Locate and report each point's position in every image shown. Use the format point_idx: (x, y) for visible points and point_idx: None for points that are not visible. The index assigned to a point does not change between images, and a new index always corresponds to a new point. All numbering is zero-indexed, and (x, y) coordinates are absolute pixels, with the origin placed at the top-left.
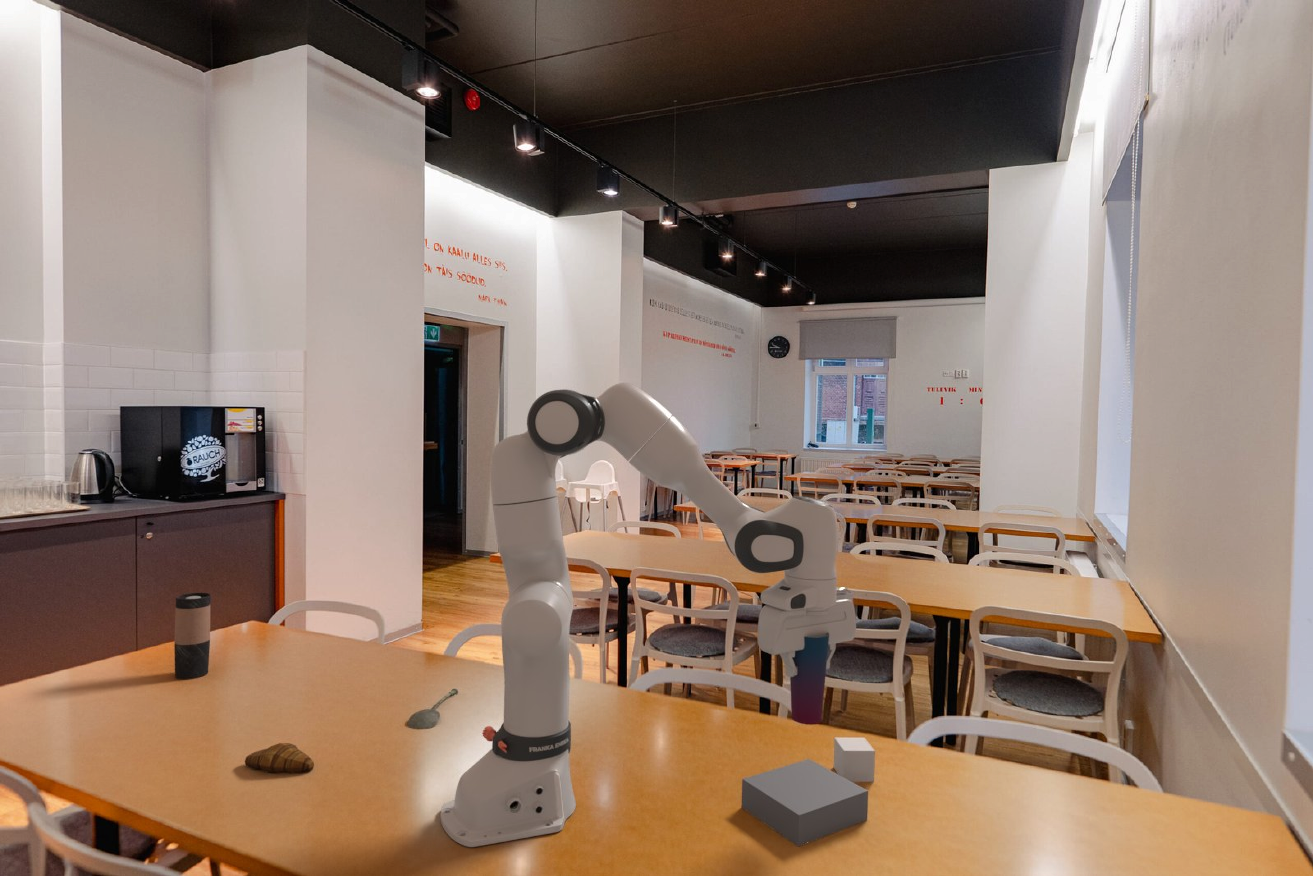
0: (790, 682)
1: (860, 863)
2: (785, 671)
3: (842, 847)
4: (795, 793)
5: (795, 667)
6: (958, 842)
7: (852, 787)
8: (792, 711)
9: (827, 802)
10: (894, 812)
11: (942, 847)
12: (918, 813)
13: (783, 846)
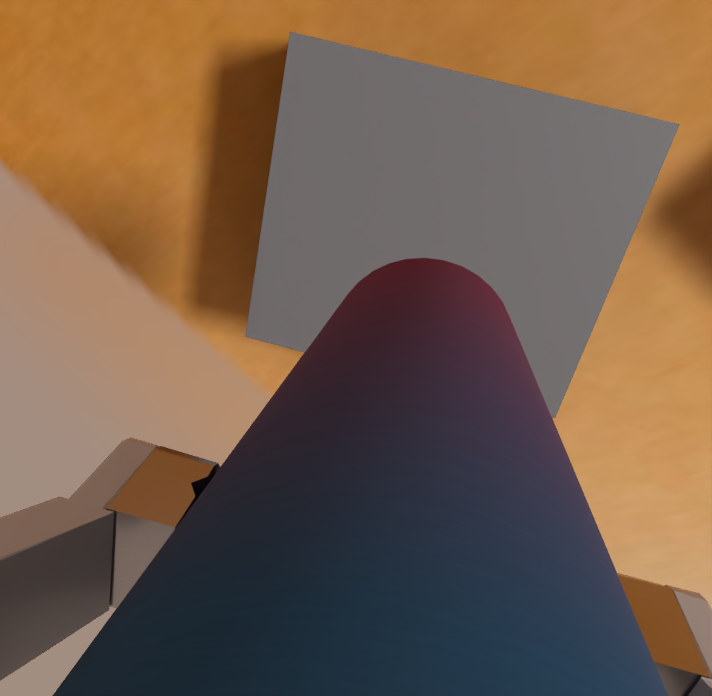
0: (314, 355)
1: None
2: (115, 453)
3: None
4: (352, 255)
5: (119, 598)
6: None
7: (541, 373)
8: (336, 309)
9: None
10: (645, 409)
11: None
12: (686, 458)
13: (244, 274)
